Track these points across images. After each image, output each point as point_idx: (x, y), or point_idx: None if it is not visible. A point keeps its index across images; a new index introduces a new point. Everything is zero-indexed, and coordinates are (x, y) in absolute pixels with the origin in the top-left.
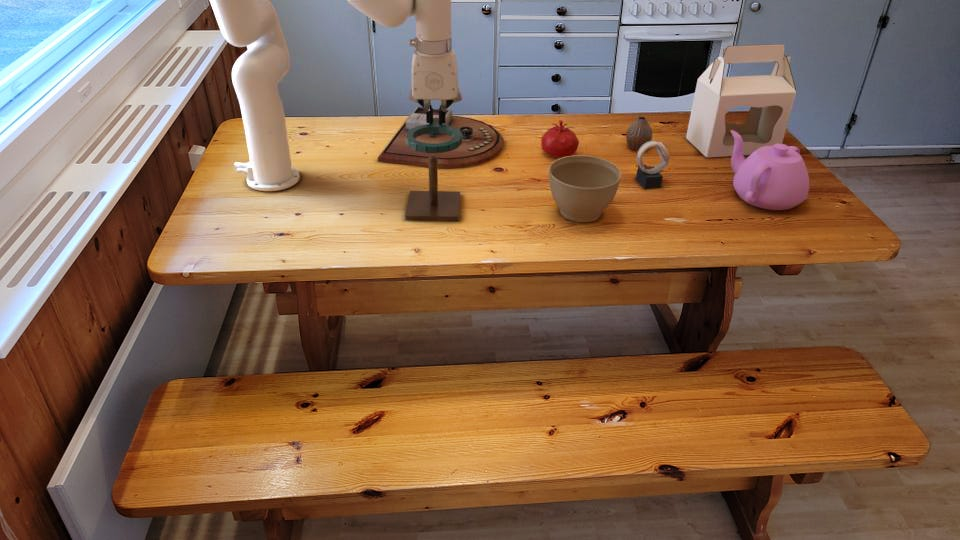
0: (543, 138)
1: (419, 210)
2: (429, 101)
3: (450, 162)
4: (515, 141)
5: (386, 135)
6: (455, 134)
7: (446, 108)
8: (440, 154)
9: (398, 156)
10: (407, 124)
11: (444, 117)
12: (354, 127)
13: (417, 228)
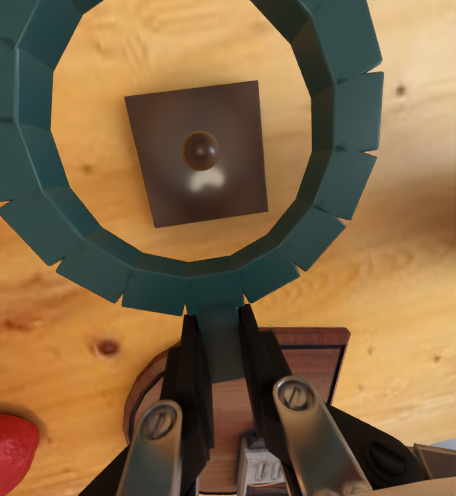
0: (18, 458)
1: (228, 114)
2: (299, 480)
3: None
4: (109, 449)
5: None
6: (27, 169)
7: (140, 438)
8: None
9: (312, 340)
10: None
11: (168, 371)
12: (395, 426)
13: (219, 44)
